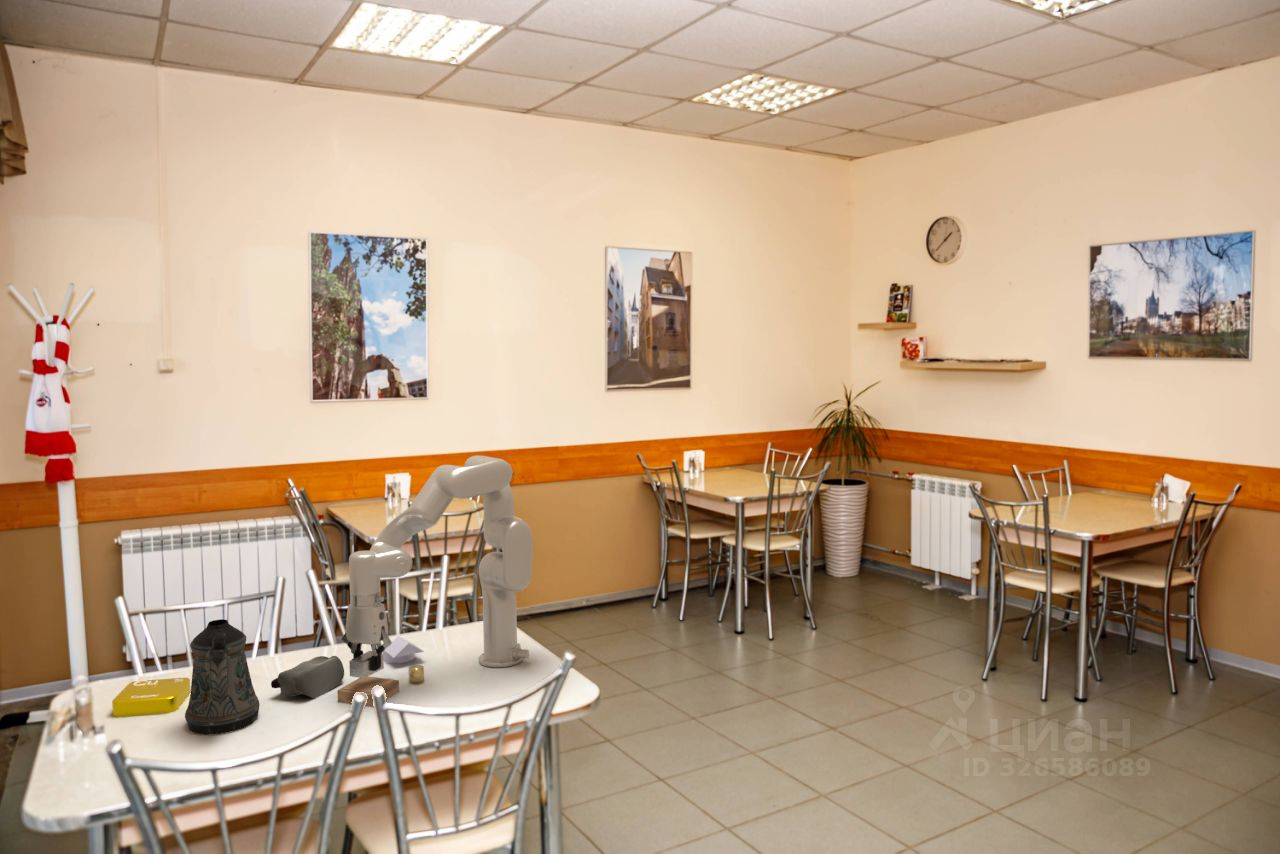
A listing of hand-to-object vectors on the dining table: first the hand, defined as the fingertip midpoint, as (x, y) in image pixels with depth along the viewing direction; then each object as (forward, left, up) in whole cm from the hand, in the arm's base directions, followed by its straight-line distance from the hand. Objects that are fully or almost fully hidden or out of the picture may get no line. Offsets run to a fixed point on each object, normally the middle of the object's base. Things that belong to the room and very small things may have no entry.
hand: (367, 667), depth 240 cm
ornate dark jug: (+23, +25, -8) cm, 35 cm away
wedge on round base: (+8, -27, -8) cm, 29 cm away
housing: (0, 0, -1) cm, 1 cm away
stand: (0, 0, -8) cm, 8 cm away
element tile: (+50, +21, -8) cm, 55 cm away
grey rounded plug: (+18, +1, -8) cm, 20 cm away
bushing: (-6, -13, -8) cm, 16 cm away
